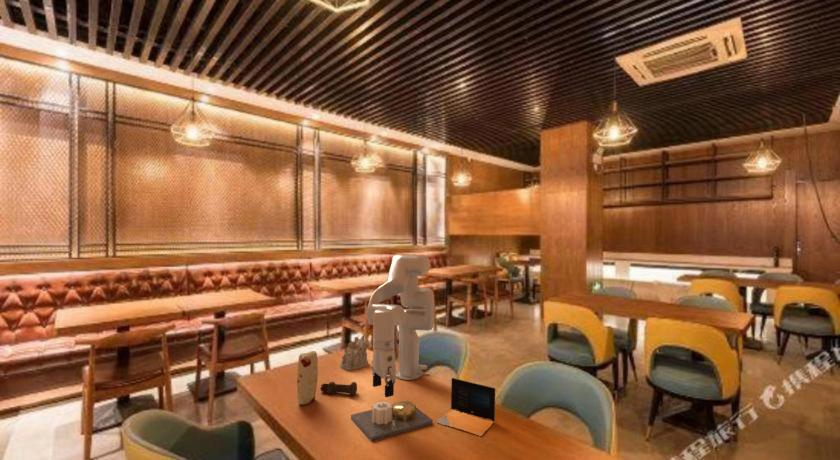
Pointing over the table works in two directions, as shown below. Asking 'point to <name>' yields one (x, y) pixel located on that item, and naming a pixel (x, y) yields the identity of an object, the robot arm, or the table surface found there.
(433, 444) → the table surface
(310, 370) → the food model
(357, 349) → the grey jagged tapered piece
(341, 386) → the bolt
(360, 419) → the carrier plate
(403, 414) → the sun gear
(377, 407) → the planet gear
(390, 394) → the robot arm
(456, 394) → the laptop
